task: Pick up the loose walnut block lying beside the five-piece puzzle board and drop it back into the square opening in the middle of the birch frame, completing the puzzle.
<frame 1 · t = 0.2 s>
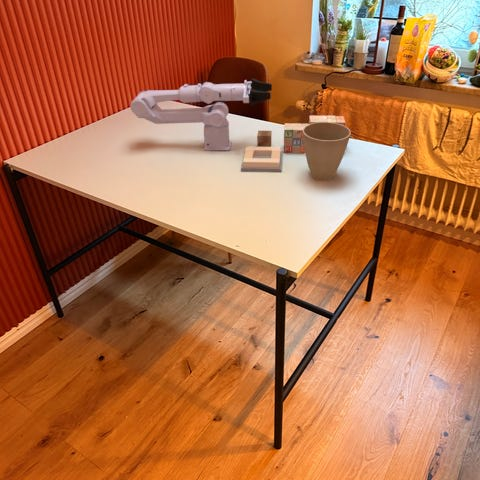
hand: (271, 91, 158), 21 cm above the table, tool horizontal, fingers open, 7 cm apart
plant pot: (322, 176, 151), on the table
stack of blocks: (312, 150, 168), on the table
walnut block: (264, 148, 170), on the table
puzzle board: (262, 162, 160), on the table
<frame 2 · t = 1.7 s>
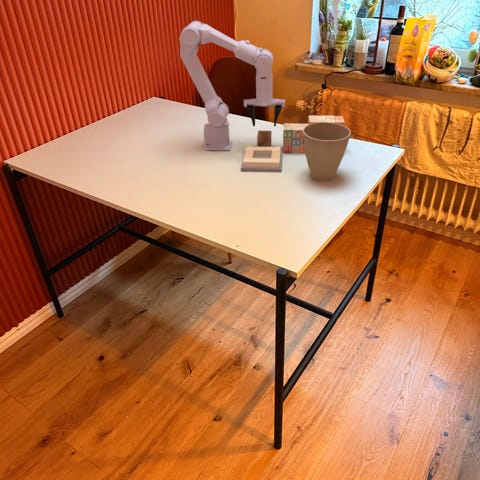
hand: (264, 125, 165), 9 cm above the table, tool pointing down, fingers open, 7 cm apart
nothing on the table moved.
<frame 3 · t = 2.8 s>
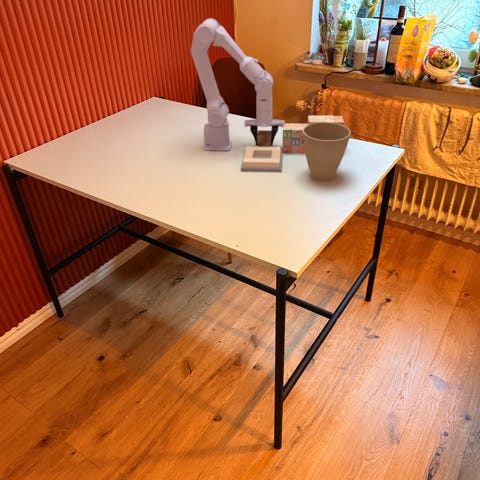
hand: (264, 144, 169), 1 cm above the table, tool pointing down, fingers closed on walnut block, 5 cm apart
walnut block: (264, 148, 170), on the table, touching gripper
everything else where it was.
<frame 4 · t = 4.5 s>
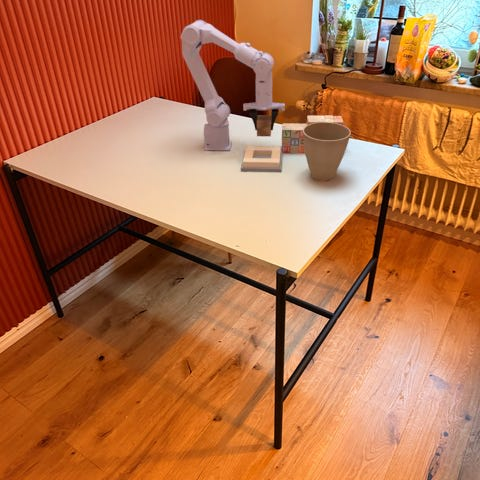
hand: (264, 129, 163), 8 cm above the table, tool pointing down, fingers closed on walnut block, 5 cm apart
walnut block: (264, 133, 164), point 7 cm above the table, touching gripper
everything else where it was.
when the fingers open (4 cm above the table, at t = 6.3 s): walnut block drops 1 cm, resting on puzzle board.
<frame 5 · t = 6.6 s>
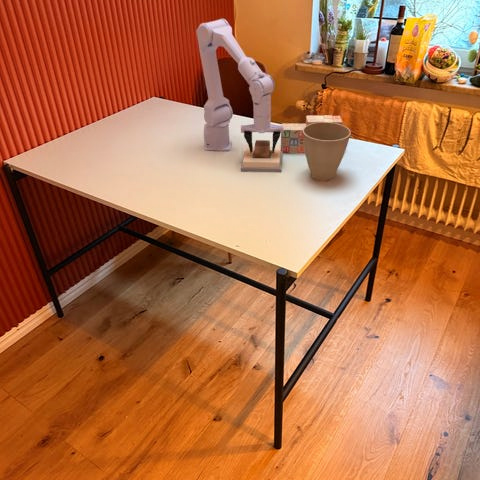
hand: (262, 151, 158), 4 cm above the table, tool pointing down, fingers open, 7 cm apart
walnut block: (262, 158, 160), point 1 cm above the table, touching puzzle board
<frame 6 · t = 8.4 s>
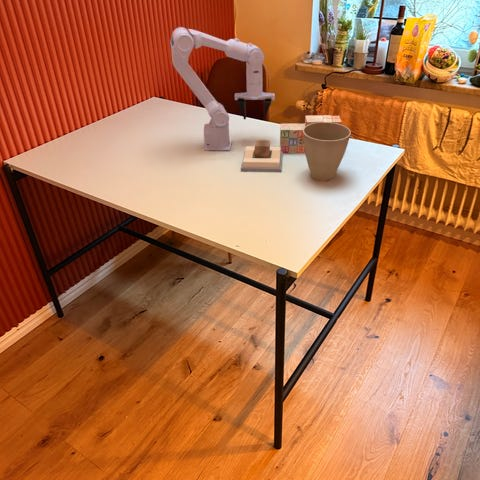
hand: (255, 118, 169), 9 cm above the table, tool pointing down, fingers open, 7 cm apart
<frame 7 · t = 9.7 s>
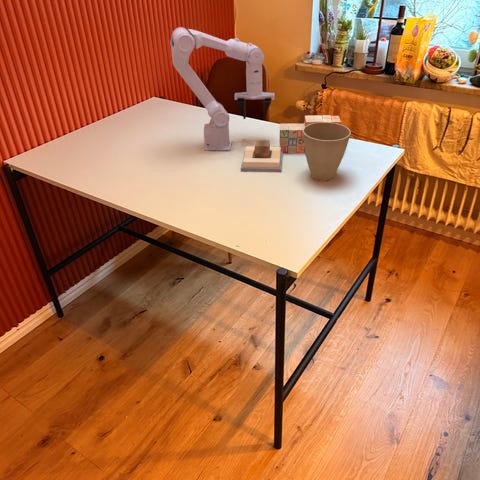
hand: (254, 118, 170), 9 cm above the table, tool pointing down, fingers open, 7 cm apart
at the end: walnut block 0.3 cm off-centre on the puzzle board, point 1.2 cm above the puzzle board's base; walnut block tilted 0°; the gripper is holding nothing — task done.
